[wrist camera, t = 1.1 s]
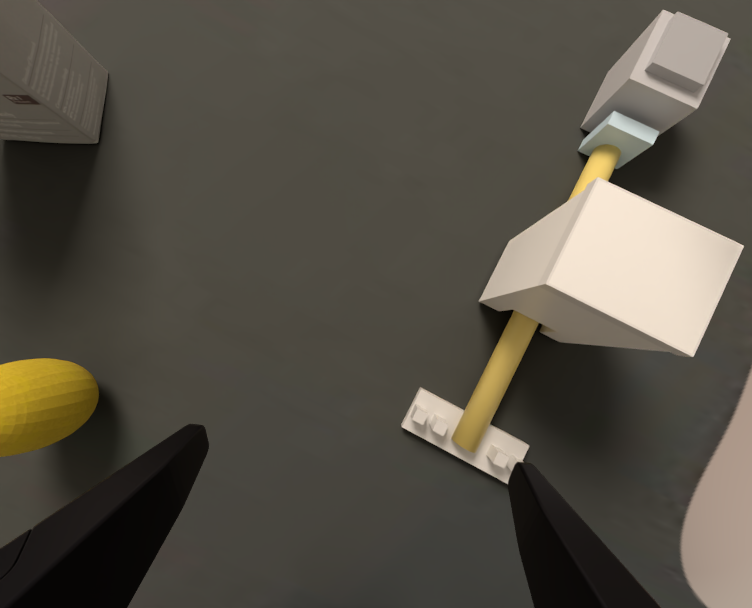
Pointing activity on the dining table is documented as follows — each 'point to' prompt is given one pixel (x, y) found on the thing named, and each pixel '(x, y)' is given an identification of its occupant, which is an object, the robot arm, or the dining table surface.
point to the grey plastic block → (654, 84)
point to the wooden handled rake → (492, 380)
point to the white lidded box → (615, 273)
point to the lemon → (43, 403)
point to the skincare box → (46, 79)
